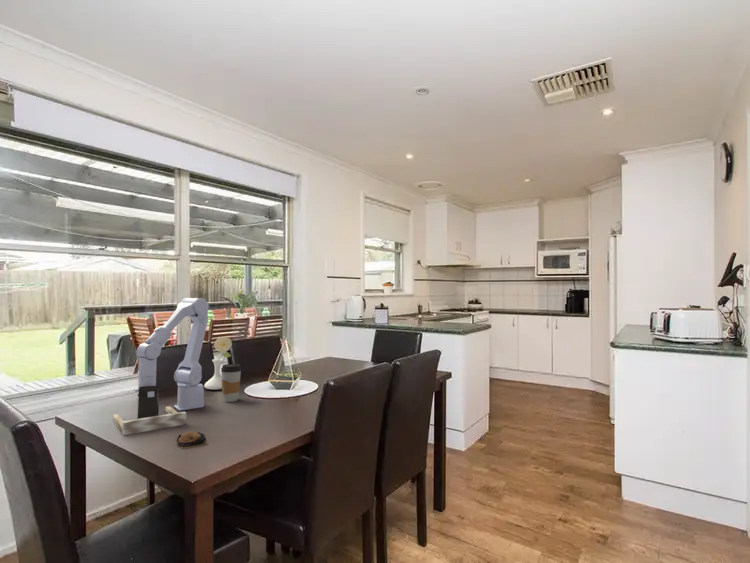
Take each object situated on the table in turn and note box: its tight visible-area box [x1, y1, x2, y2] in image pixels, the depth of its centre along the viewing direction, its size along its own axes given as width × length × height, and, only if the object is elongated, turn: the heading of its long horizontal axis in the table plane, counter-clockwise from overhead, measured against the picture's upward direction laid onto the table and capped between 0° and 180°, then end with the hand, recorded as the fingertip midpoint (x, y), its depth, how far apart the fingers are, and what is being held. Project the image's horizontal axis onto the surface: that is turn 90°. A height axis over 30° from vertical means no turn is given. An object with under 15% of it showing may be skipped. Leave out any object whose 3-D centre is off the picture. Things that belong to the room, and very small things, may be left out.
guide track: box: [112, 406, 187, 436], centre depth 153 cm, size 19×22×4 cm
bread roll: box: [176, 431, 208, 450], centre depth 133 cm, size 11×8×4 cm
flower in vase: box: [203, 336, 233, 391], centre depth 204 cm, size 13×11×25 cm
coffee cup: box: [220, 363, 242, 403], centre depth 183 cm, size 8×8×15 cm
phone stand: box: [137, 385, 160, 419], centre depth 153 cm, size 9×6×12 cm, turn 21°
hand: (146, 413), depth 156 cm, fingers closed, pressing on phone stand
